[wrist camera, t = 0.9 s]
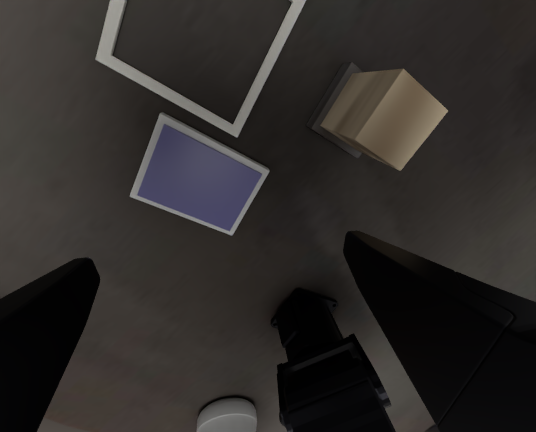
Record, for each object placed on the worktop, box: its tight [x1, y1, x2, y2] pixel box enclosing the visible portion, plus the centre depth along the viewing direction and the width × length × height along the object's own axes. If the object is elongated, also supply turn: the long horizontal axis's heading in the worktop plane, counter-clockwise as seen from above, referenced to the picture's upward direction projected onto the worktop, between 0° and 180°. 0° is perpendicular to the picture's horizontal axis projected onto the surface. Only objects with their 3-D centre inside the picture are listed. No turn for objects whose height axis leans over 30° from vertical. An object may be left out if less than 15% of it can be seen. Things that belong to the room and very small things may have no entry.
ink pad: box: [130, 112, 270, 235], centre depth 20 cm, size 9×7×1 cm
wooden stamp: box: [306, 62, 448, 171], centre depth 17 cm, size 5×5×7 cm
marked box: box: [95, 0, 306, 138], centre depth 15 cm, size 10×10×1 cm
